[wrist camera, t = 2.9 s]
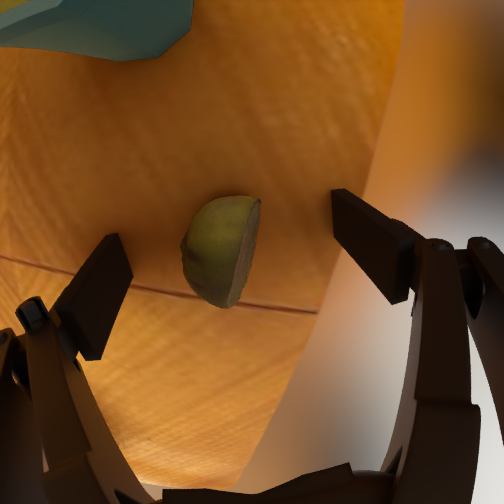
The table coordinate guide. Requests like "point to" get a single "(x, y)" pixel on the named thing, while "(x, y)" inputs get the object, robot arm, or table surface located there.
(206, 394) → the table surface
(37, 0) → the cup
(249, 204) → the lime
